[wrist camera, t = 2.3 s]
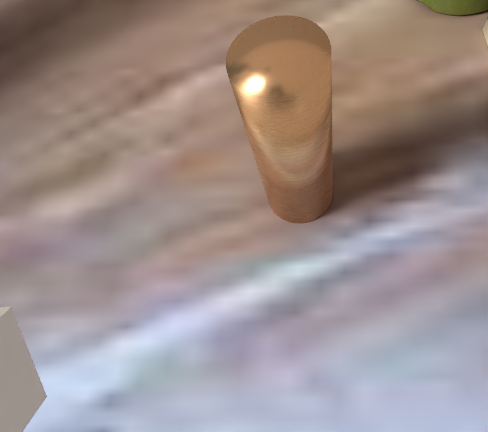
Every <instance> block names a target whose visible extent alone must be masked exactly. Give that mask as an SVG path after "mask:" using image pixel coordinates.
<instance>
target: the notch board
mask: <svg viewBox="0 0 488 432" xmlns="http://www.w3.org/2000/svg"><path fill="white" fill-rule="evenodd" d="M482 31H483V34H484V37H485V40H486V43H487V46H488V17H487V20H486V23H485V25H484V28H483V30H482Z"/></svg>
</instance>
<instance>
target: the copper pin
mask: <svg viewBox="0 0 488 432" xmlns="http://www.w3.org/2000/svg"><path fill="white" fill-rule="evenodd" d="M226 69H227V73H228V76H229V79H230V82H231V86H232V89H233V92H234V95H235V98H236V101H237V104H238V107H239V110H240V113H241V117H242V120H243V123H244V126H245V129H246V132H247V135H248V138H249V141H250V145H251V148H252V151H253V154H254V157H255V160H256V163H257V166H258V169H259V172H260V176H261V179H262V182H263V185H264V188H265V191H266V194H267V197H268V200H269V204H270V206H271V208H272V210H273V211H274V212H275V213H276V215H278V216H279V217H280V218H282V219H284V220H286V221H288V222H292V223H307V222H310V221H313V220H315V219H317V218H319V217H320V216H322V215H323V214H324V213H325V212H326V211H327V209H328V208H329V206H330V204H331V202H332V198H333V153H332V65H331V45H330V41H329V39H328V36H327V35H326V33H325V32H324V31H323V30H322V29H321V28H320V27H319V26H318V25H317V24H315V23H313V22H312V21H310V20H307V19H304V18H301V17H296V16H275V17H270V18H266V19H263V20H261V21H258V22H256V23H254V24H252V25H251V26H249V27H247V28H246V29H245V30H243V31H242V32H241V33H240V34H239V35H238V36H237V37H236V38H235V40H234V41H233V42H232V44H231V46H230V48H229V50H228V53H227V57H226Z"/></svg>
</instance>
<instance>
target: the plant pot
mask: <svg viewBox="0 0 488 432" xmlns="http://www.w3.org/2000/svg"><path fill="white" fill-rule="evenodd" d="M417 1H420V2H422V3H424V4H425V5H427V6H428V7H429V8H430V9H431V10H433V11H435V12H438V13H443V14H449V15H468V14H474V13H479V12H483V11H485V10H488V0H417Z"/></svg>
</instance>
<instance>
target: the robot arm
mask: <svg viewBox="0 0 488 432" xmlns="http://www.w3.org/2000/svg"><path fill="white" fill-rule="evenodd" d="M46 397H47V396H46V393H45V391H44V388H43V386H42V383H41V381H40V378H39V376H38V373H37V371H36V368H35V365H34V363H33V360H32V358H31V355H30V353H29V350H28V348H27V345H26V343H25V340H24V338H23V335H22V333H21V330H20V327H19V325H18V322H17V320H16V317H15V315H14V312H13V310H12V307H2V308H0V432H23V430H24V429H25V427H26V426H27V424H28V423H29V422H30V420H31V419H32V417H33V416H34V414H35V413H36V412H37V410H38V409H39V407H40V406H41V404H42V403H43V402H44V400H45V399H46Z"/></svg>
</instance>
